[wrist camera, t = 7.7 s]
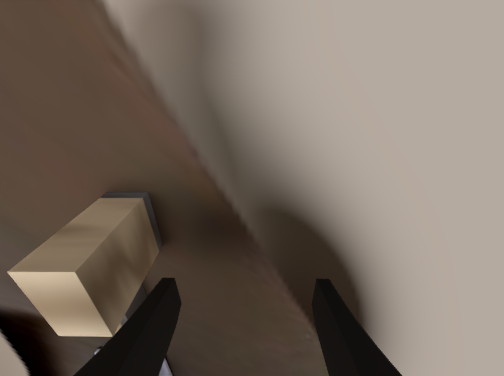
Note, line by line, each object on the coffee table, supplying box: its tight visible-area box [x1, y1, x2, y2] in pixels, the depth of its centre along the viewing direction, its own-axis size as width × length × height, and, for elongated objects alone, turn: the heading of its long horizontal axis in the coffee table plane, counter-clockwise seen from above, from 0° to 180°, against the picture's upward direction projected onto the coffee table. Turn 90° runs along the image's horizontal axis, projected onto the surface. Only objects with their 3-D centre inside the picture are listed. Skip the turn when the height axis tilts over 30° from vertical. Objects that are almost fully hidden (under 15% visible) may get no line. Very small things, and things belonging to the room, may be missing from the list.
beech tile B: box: [8, 192, 163, 337], centre depth 14 cm, size 5×3×7 cm, turn 1°
